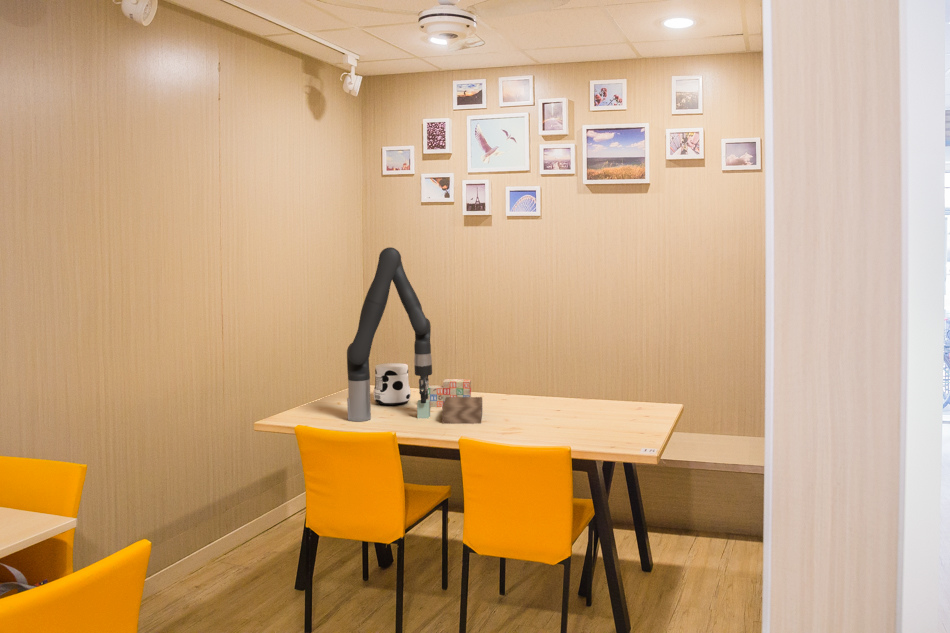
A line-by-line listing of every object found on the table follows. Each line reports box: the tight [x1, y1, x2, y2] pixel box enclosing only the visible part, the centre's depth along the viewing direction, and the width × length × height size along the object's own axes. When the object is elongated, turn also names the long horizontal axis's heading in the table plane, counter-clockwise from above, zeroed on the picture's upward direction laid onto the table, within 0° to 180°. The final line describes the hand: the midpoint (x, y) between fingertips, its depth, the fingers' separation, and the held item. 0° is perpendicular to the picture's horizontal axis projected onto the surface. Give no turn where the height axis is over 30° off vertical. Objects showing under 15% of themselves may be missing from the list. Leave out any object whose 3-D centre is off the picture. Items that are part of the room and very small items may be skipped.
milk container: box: [373, 362, 412, 406], centre depth 354 cm, size 17×17×18 cm
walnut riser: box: [441, 396, 483, 424], centre depth 323 cm, size 16×20×7 cm
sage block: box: [416, 399, 431, 419], centre depth 325 cm, size 5×5×7 cm
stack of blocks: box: [426, 378, 472, 408], centre depth 346 cm, size 21×6×12 cm, turn 85°
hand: (424, 401), depth 325 cm, fingers open, 8 cm apart
